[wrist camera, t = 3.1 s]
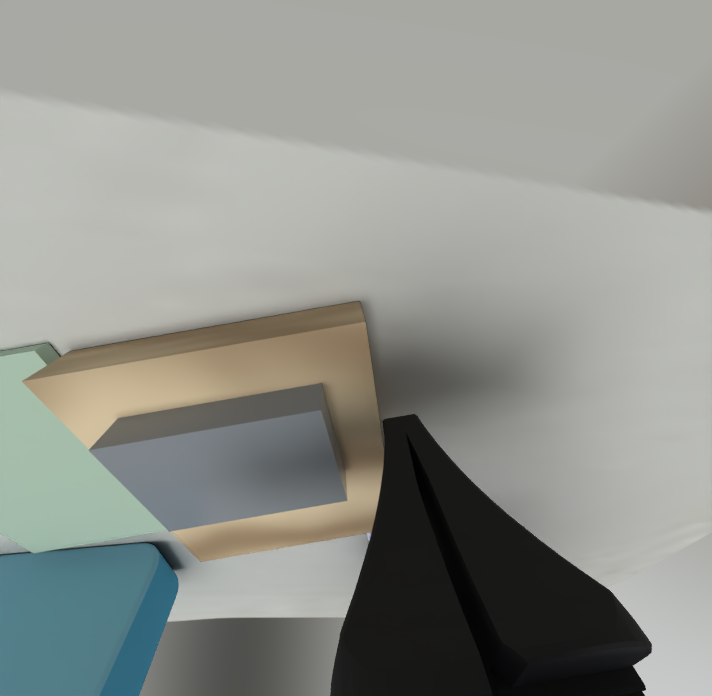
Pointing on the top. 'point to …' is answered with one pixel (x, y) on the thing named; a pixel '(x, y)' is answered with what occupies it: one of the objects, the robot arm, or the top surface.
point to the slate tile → (228, 457)
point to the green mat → (54, 472)
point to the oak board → (231, 380)
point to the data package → (82, 619)
